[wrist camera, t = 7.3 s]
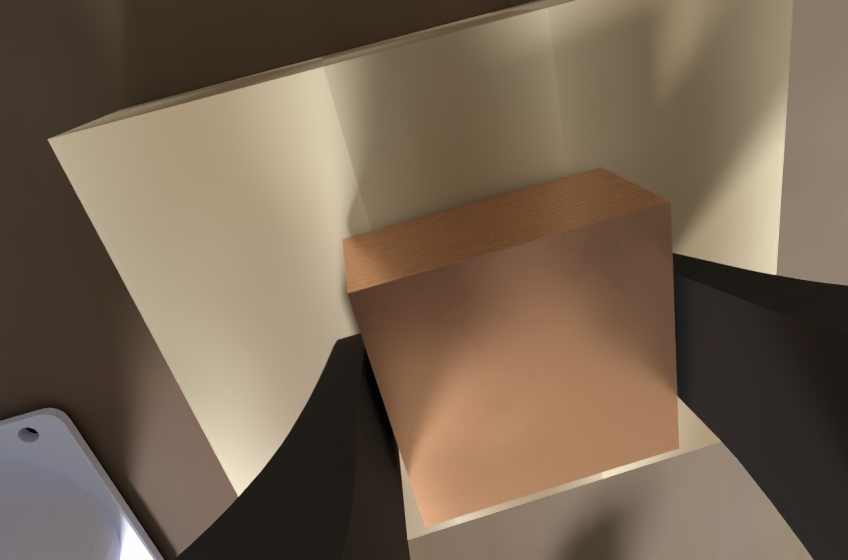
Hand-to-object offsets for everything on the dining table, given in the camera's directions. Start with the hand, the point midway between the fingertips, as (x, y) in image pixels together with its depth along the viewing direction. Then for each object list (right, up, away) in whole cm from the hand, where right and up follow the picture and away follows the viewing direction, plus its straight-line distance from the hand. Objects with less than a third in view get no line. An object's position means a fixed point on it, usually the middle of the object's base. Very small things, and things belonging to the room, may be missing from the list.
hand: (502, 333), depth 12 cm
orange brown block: (-1, +2, +3) cm, 4 cm away
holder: (-1, +2, +4) cm, 5 cm away
